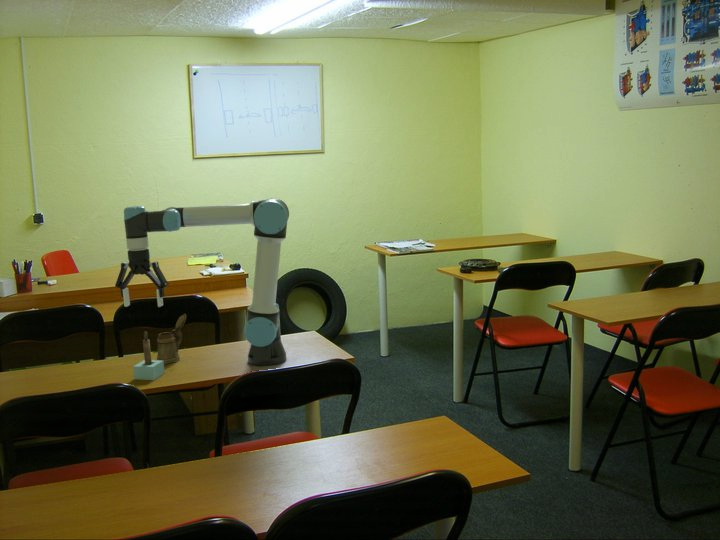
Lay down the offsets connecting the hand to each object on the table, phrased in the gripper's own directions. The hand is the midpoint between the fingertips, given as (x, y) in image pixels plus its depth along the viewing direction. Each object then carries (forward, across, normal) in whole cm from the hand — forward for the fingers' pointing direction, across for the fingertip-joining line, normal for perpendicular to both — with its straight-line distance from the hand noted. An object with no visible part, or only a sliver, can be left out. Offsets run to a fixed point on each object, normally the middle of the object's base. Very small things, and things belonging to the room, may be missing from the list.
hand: (143, 306), depth 257 cm
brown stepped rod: (+27, 0, 0) cm, 27 cm away
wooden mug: (+27, +1, -21) cm, 34 cm away
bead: (+27, 0, 0) cm, 27 cm away
